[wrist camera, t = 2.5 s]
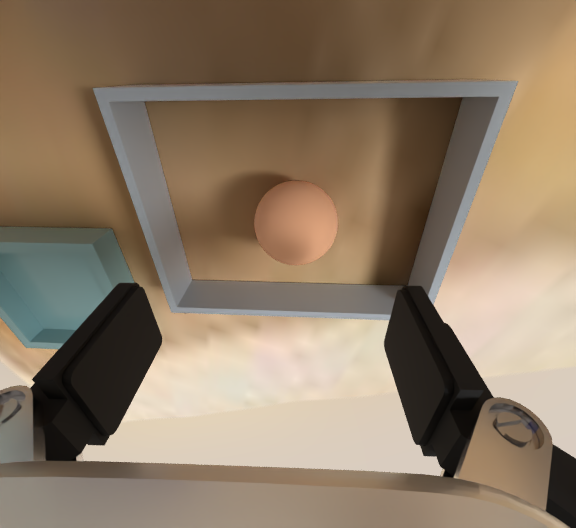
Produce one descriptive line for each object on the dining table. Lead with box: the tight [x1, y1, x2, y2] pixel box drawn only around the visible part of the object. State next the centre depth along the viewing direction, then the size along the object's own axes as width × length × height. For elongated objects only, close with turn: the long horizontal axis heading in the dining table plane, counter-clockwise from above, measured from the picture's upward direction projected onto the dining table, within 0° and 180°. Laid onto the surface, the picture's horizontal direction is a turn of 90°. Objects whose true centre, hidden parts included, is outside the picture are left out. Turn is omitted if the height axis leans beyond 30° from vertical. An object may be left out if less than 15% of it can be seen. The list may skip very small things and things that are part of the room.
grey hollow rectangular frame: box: [93, 79, 518, 320], centre depth 16 cm, size 17×13×3 cm
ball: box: [254, 180, 338, 265], centre depth 15 cm, size 5×5×5 cm
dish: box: [0, 227, 135, 349], centre depth 22 cm, size 11×11×2 cm
